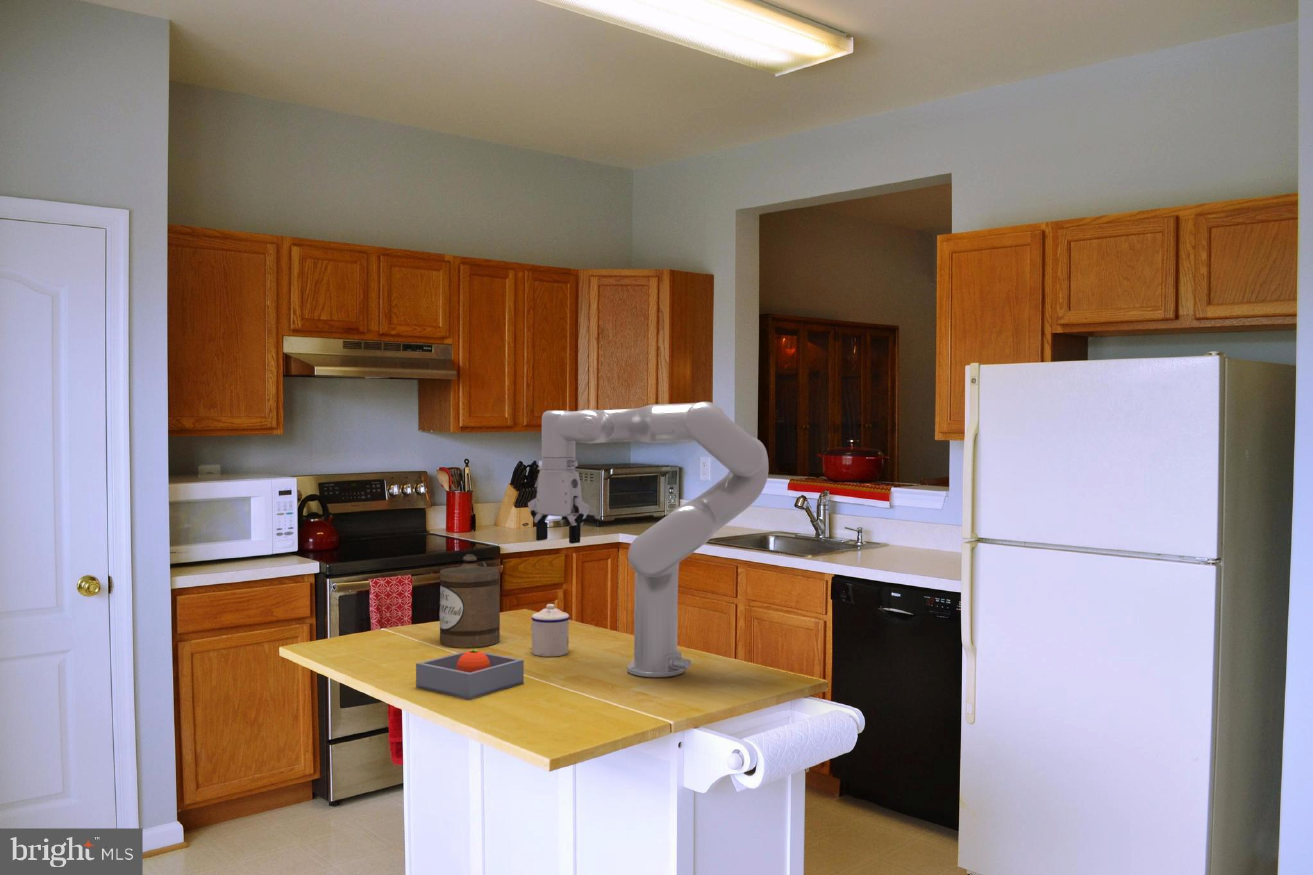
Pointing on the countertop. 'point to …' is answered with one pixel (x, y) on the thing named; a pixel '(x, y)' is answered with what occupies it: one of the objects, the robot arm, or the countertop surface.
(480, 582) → the wooden container
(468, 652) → the clementine
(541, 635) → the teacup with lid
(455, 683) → the bin
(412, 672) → the countertop surface
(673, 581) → the robot arm
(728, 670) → the countertop surface
